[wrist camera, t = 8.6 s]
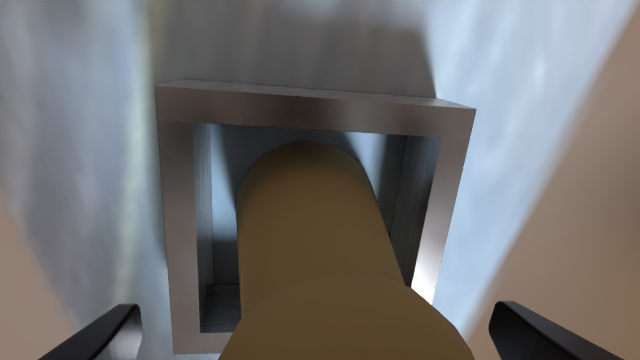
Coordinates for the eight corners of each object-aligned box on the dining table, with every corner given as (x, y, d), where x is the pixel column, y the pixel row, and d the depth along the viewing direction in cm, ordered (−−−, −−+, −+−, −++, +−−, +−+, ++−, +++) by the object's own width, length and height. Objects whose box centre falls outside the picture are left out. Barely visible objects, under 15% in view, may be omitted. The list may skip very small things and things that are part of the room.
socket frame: (398, 300, 18) (421, 347, 15) (191, 302, 16) (174, 354, 13) (437, 98, 14) (476, 108, 11) (181, 78, 13) (154, 85, 10)
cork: (394, 164, 15) (650, 404, 5) (345, 279, 17) (455, 637, 6) (258, 121, 14) (202, 321, 3) (220, 250, 15) (107, 641, 5)
